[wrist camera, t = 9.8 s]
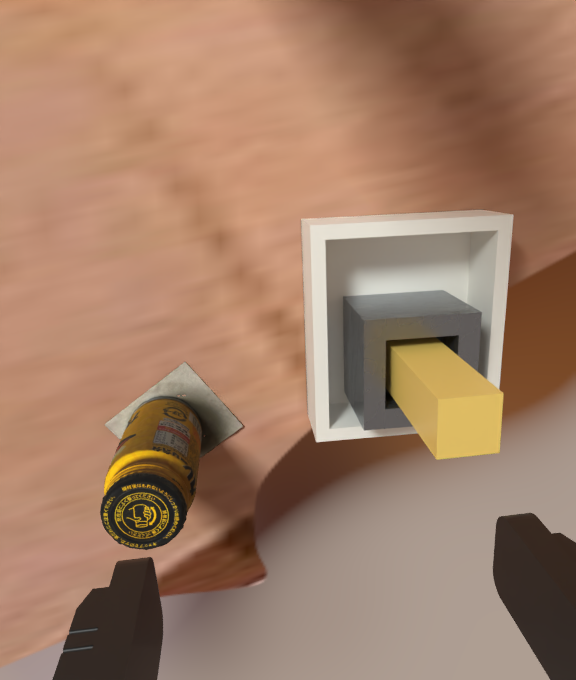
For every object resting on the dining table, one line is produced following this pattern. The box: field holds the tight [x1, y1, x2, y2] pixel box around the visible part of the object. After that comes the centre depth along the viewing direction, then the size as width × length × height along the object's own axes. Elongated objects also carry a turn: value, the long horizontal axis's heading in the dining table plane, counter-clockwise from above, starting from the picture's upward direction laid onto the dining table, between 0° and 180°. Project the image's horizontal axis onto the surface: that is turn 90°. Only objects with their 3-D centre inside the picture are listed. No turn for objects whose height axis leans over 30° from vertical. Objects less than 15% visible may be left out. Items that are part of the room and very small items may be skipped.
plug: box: [385, 337, 503, 460], centre depth 35 cm, size 4×4×12 cm
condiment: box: [100, 362, 243, 550], centre depth 39 cm, size 7×8×12 cm
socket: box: [343, 290, 482, 431], centre depth 40 cm, size 8×8×7 cm
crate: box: [301, 209, 514, 442], centre depth 41 cm, size 16×14×5 cm
